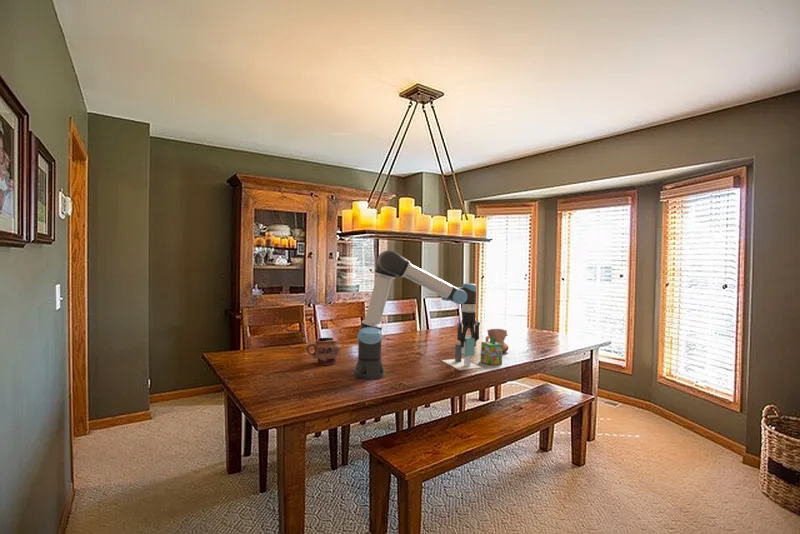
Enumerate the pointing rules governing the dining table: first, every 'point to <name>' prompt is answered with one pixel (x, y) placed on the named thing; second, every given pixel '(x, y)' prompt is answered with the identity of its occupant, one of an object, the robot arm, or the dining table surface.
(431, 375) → the dining table surface
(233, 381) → the dining table surface
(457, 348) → the black post
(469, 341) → the teal rectangular block
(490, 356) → the chalk box
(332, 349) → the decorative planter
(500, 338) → the ceramic jug
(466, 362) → the steel post
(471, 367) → the board
